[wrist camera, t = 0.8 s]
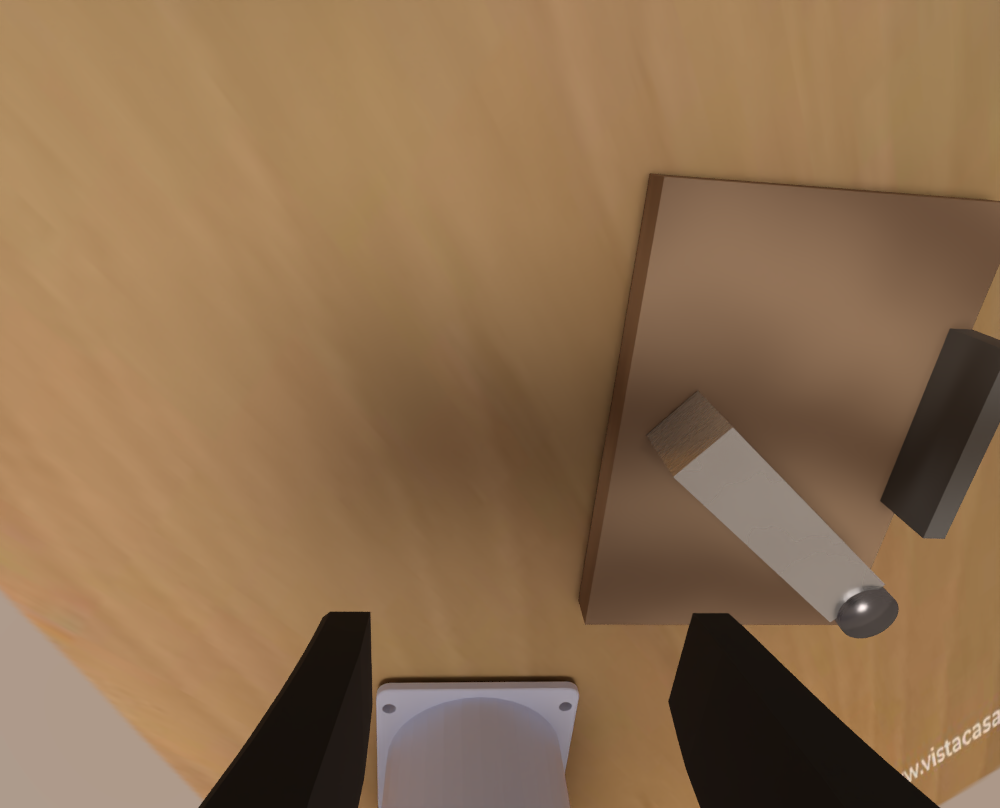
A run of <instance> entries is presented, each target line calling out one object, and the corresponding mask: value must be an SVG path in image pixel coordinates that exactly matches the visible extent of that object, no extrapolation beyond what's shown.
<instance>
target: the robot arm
mask: <svg viewBox="0 0 1000 808" xmlns="http://www.w3.org/2000/svg"><path fill="white" fill-rule="evenodd" d="M578 699H579V693H578V688H577V686H576V685H575V684H574V683H572V682H567V681H566V682H438V683H386V684H383V685H381V686H380V687H379V688H378V690H377V696H376V720H377V773H378V808H570V802H569V796H568V791H567V785H566V779H565V770H566V765H567V759H568V754H569V748H570V743H571V737H572V732H573V727H574V721H575V716H576V710H577V705H578ZM668 702H669V706H670V710H671V714H672V718H673V722H674V726H675V730H676V734H677V738H678V742H679V745H680V749H681V753H682V756H683V760H684V763H685V767H686V770H687V773H688V776H689V778H690V781H691V784H692V787H693V789H694V792H695V794H696V797H697V800H698V802H699V805H700V808H940V807H938V806H937V805H936V804H935V803H934V802H933V801H931V800H930V799H929V798H928V797H927V796H926V795H924V794H923V793H922V792H921V791H920V790H919V789H917V788H916V787H915V786H914V785H913V784H912V783H910V782H909V781H908V780H907V779H906V778H905V777H904V776H902V775H901V774H900V773H899V772H898V771H897V770H895V769H894V768H893V767H892V766H891V765H890V764H888V763H887V762H886V761H885V760H884V759H883V758H882V757H881V756H879V755H878V754H877V753H876V752H875V751H874V750H873V749H872V748H871V747H869V746H868V745H867V744H866V743H865V742H864V741H863V740H862V739H861V738H859V737H858V736H857V735H856V734H855V733H854V732H853V731H852V730H851V729H850V728H849V727H848V726H846V725H845V724H844V723H843V722H842V721H841V720H840V719H839V718H838V717H837V716H836V715H835V714H834V713H833V712H831V711H830V710H829V709H828V708H827V707H826V706H825V705H824V704H823V703H822V702H821V701H820V700H819V699H818V698H817V697H816V696H815V695H813V694H812V693H811V692H810V691H809V690H808V689H807V688H806V687H805V686H804V685H803V684H802V683H801V682H800V681H799V680H798V679H797V678H796V677H795V676H794V675H793V674H792V673H791V672H790V671H789V670H788V669H786V668H785V667H784V666H783V665H782V664H781V663H780V662H779V661H778V660H777V659H776V658H775V657H774V656H773V655H772V654H771V653H770V652H769V651H768V650H767V649H766V648H765V647H764V646H763V645H762V644H761V643H760V642H759V641H758V640H757V639H756V638H755V637H754V636H753V635H752V634H750V633H749V632H748V631H747V630H746V629H745V628H744V627H743V626H742V625H741V624H740V623H739V622H738V621H737V620H736V619H735V618H734V617H732V616H731V615H730V614H729V613H693V614H692V618H691V621H690V625H689V628H688V632H687V636H686V639H685V643H684V647H683V650H682V654H681V658H680V661H679V665H678V668H677V672H676V676H675V679H674V683H673V687H672V690H671V694H670V698H669V701H668ZM389 704H391V705H389ZM371 713H372V664H371V620H370V612H329V613H328V614H327V615H325V616H324V617H323V618H322V620H321V622H320V624H319V626H318V628H317V630H316V632H315V634H314V635H313V637H312V639H311V641H310V643H309V644H308V646H307V648H306V650H305V652H304V653H303V655H302V657H301V658H300V660H299V662H298V663H297V665H296V667H295V668H294V670H293V672H292V673H291V675H290V676H289V678H288V680H287V681H286V683H285V685H284V686H283V688H282V689H281V691H280V693H279V694H278V696H277V697H276V699H275V700H274V702H273V703H272V705H271V706H270V708H269V709H268V711H267V712H266V714H265V715H264V717H263V718H262V720H261V721H260V723H259V724H258V726H257V727H256V729H255V730H254V732H253V733H252V735H251V736H250V738H249V739H248V740H247V742H246V743H245V745H244V746H243V748H242V749H241V750H240V752H239V753H238V755H237V756H236V757H235V759H234V760H233V762H232V763H231V764H230V766H229V767H228V768H227V770H226V771H225V772H224V774H223V775H222V776H221V778H220V779H219V780H218V782H217V783H216V785H215V786H214V787H213V789H212V790H211V791H210V793H209V794H208V795H207V797H206V798H205V799H204V801H203V802H202V804H201V805H200V806H199V808H358V805H359V800H360V795H361V790H362V786H363V781H364V775H365V766H366V758H367V749H368V741H369V731H370V722H371Z"/></svg>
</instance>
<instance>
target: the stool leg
mask: <svg viewBox="0 0 1000 808" xmlns="http://www.w3.org/2000/svg"><path fill="white" fill-rule="evenodd" d="M647 437H648V438H649V440H650V441H651V443H652V445H653V446H654V448H655V449H656V451H657V452H658V454H659V456H660V457H661V459H662V460H663V462H664V463H665V465H666V467H667V468H668V470H669V471H670V473H671V474H672V476H673V477H674V478H675V479H676V480H677V481H678V482H679V483H680V484H681V485H682V486H683V487H685V488H686V489H687V490H688V491H689V492H690V493H691V494H692V495H693V496H694V497H695V498H696V499H697V500H699V501H700V502H701V503H702V504H703V505H704V506H705V507H706V508H707V509H708V510H709V511H710V512H711V513H713V514H714V515H715V516H716V517H717V518H718V519H719V520H720V521H721V522H722V523H723V524H724V525H726V526H727V527H728V528H729V529H730V530H731V531H732V532H733V533H734V534H735V535H736V536H737V537H738V538H740V539H741V540H742V541H743V542H744V543H745V544H746V545H747V546H748V547H749V548H750V549H751V550H752V551H754V552H755V553H756V554H757V555H758V556H759V557H760V558H761V559H762V560H763V561H764V562H765V563H766V564H768V565H769V566H770V567H771V568H772V569H773V570H774V571H775V572H776V573H777V574H778V575H779V576H780V577H782V578H783V579H784V580H785V581H786V582H787V583H788V584H789V585H790V586H791V587H792V588H793V589H794V590H796V591H797V592H798V593H799V594H800V595H801V596H802V597H803V598H804V599H805V600H806V601H807V602H808V603H810V604H811V605H812V606H813V607H814V608H815V609H816V610H817V611H818V612H819V613H820V614H821V615H823V616H824V617H825V618H826V619H827V620H828V621H829V622H832V621H833V620H835V622H836V623H837V624H838V625H839V627H840V628H841V629H842V631H843V632H844V633H845V634H846V635H848V636H850V637H853V638H867V637H871V636H874V635H877V634H879V633H881V632H883V631H884V630H885V629H887V628H888V627H889V626H890V625H891V624H892V623H893V622H894V620H895V619H896V617H897V614H898V604H897V602H896V600H895V599H894V598H893V597H892V596H891V595H890V594H889V593H888V592H887V591H886V590H885V589H884V588H883V586H884V585H885V584H884V583H883V582H882V581H881V580H880V579H879V578H878V577H877V576H876V575H875V574H874V572H873V571H872V570H871V569H870V568H869V567H868V566H867V565H866V564H865V563H864V562H863V561H862V560H861V559H860V558H859V557H858V556H857V555H856V554H855V553H854V552H853V551H852V549H851V548H850V547H849V546H848V545H847V544H846V543H845V542H844V541H843V540H842V539H841V538H840V537H839V536H838V535H837V534H836V533H835V532H834V531H833V530H832V529H831V528H830V527H829V526H828V525H827V524H826V522H825V521H824V520H823V519H822V518H821V517H820V516H819V515H818V514H817V513H816V512H815V511H814V510H813V509H812V508H811V507H810V506H809V505H808V504H807V503H806V502H805V501H804V500H803V499H802V498H801V497H800V496H799V495H798V494H797V493H796V491H795V490H794V489H793V488H792V487H791V486H790V485H789V484H788V483H787V482H786V481H785V480H784V479H783V478H782V477H781V476H780V475H779V474H778V473H777V472H776V471H775V470H774V469H773V468H772V467H771V466H770V465H769V464H768V463H767V462H766V461H765V459H764V458H763V457H762V456H761V455H760V454H759V453H758V452H757V451H756V450H755V449H754V448H753V447H752V446H751V445H750V444H749V443H748V442H747V441H746V440H745V439H744V438H743V437H742V436H741V435H740V434H739V433H738V432H737V431H736V430H735V429H734V427H733V426H732V425H731V424H730V423H729V422H728V421H727V420H726V419H725V418H724V417H723V416H722V415H721V414H720V413H719V412H718V411H717V410H716V409H715V408H714V407H713V406H712V405H711V404H710V403H709V402H708V401H707V400H706V399H705V398H704V396H703V395H702V394H701V393H700V392H699V391H697V392H696V393H694V394H693V395H692V396H691V397H690V398H689V399H688V400H686V401H685V402H684V403H683V404H682V405H681V406H679V407H678V408H677V409H676V410H675V411H674V412H673V413H671V414H670V415H669V416H668V417H667V418H666V419H664V420H663V421H662V422H661V423H660V424H659V425H658V426H656V427H655V428H654V429H653V430H652V431H651V432H649V433H648V434H647Z"/></svg>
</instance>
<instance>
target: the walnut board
mask: <svg viewBox="0 0 1000 808" xmlns="http://www.w3.org/2000/svg"><path fill="white" fill-rule="evenodd" d="M999 264H1000V201H993V200H983V199H970V198H957V197H944V196H931V195H918V194H905V193H892V192H879V191H866V190H853V189H840V188H827V187H814V186H802V185H789V184H776V183H763V182H750V181H737V180H724V179H711V178H698V177H685V176H672V175H659V174H650V177H649V183H648V189H647V195H646V201H645V207H644V213H643V219H642V225H641V231H640V237H639V243H638V249H637V255H636V261H635V267H634V272H633V278H632V284H631V290H630V296H629V302H628V308H627V314H626V320H625V326H624V332H623V338H622V344H621V350H620V356H619V362H618V368H617V374H616V380H615V386H614V392H613V398H612V404H611V410H610V416H609V422H608V428H607V434H606V440H605V446H604V452H603V457H602V463H601V469H600V475H599V481H598V487H597V493H596V499H595V505H594V511H593V517H592V523H591V529H590V535H589V541H588V547H587V553H586V559H585V565H584V571H583V577H582V583H581V589H580V595H579V604H580V607H581V611H582V615H583V619H584V622H585V624H649V625H690V621H691V618H692V614H693V613H729V614H730V615H731V616H732V617H734V618H735V619H736V620H737V621H738V622H739V623H740V624H741V625H838V624H837V623H836V622H835V620H833V621H832V622H829V621H828V620H827V619H826V618H825V617H824V616H823V615H821V614H820V613H819V612H818V611H817V610H816V609H815V608H814V607H813V606H812V605H811V604H810V603H808V602H807V601H806V600H805V599H804V598H803V597H802V596H801V595H800V594H799V593H798V592H797V591H796V590H794V589H793V588H792V587H791V586H790V585H789V584H788V583H787V582H786V581H785V580H784V579H783V578H782V577H780V576H779V575H778V574H777V573H776V572H775V571H774V570H773V569H772V568H771V567H770V566H769V565H768V564H766V563H765V562H764V561H763V560H762V559H761V558H760V557H759V556H758V555H757V554H756V553H755V552H754V551H752V550H751V549H750V548H749V547H748V546H747V545H746V544H745V543H744V542H743V541H742V540H741V539H740V538H738V537H737V536H736V535H735V534H734V533H733V532H732V531H731V530H730V529H729V528H728V527H727V526H726V525H724V524H723V523H722V522H721V521H720V520H719V519H718V518H717V517H716V516H715V515H714V514H713V513H711V512H710V511H709V510H708V509H707V508H706V507H705V506H704V505H703V504H702V503H701V502H700V501H699V500H697V499H696V498H695V497H694V496H693V495H692V494H691V493H690V492H689V491H688V490H687V489H686V488H685V487H683V486H682V485H681V484H680V483H679V482H678V481H677V480H676V479H675V478H674V477H673V476H672V474H671V473H670V471H669V470H668V468H667V467H666V465H665V463H664V462H663V460H662V459H661V457H660V456H659V454H658V452H657V451H656V449H655V448H654V446H653V445H652V443H651V441H650V440H649V438H648V437H647V434H648V433H649V432H651V431H652V430H653V429H654V428H655V427H656V426H658V425H659V424H660V423H661V422H662V421H663V420H664V419H666V418H667V417H668V416H669V415H670V414H671V413H673V412H674V411H675V410H676V409H677V408H678V407H679V406H681V405H682V404H683V403H684V402H685V401H686V400H688V399H689V398H690V397H691V396H692V395H693V394H694V393H696V392H697V391H699V392H700V393H701V394H702V395H703V396H704V398H705V399H706V400H707V401H708V402H709V403H710V404H711V405H712V406H713V407H714V408H715V409H716V410H717V411H718V412H719V413H720V414H721V415H722V416H723V417H724V418H725V419H726V420H727V421H728V422H729V423H730V424H731V425H732V426H733V427H734V429H735V430H736V431H737V432H738V433H739V434H740V435H741V436H742V437H743V438H744V439H745V440H746V441H747V442H748V443H749V444H750V445H751V446H752V447H753V448H754V449H755V450H756V451H757V452H758V453H759V454H760V455H761V456H762V457H763V458H764V459H765V461H766V462H767V463H768V464H769V465H770V466H771V467H772V468H773V469H774V470H775V471H776V472H777V473H778V474H779V475H780V476H781V477H782V478H783V479H784V480H785V481H786V482H787V483H788V484H789V485H790V486H791V487H792V488H793V489H794V490H795V491H796V493H797V494H798V495H799V496H800V497H801V498H802V499H803V500H804V501H805V502H806V503H807V504H808V505H809V506H810V507H811V508H812V509H813V510H814V511H815V512H816V513H817V514H818V515H819V516H820V517H821V518H822V519H823V520H824V521H825V522H826V524H827V525H828V526H829V527H830V528H831V529H832V530H833V531H834V532H835V533H836V534H837V535H838V536H839V537H840V538H841V539H842V540H843V541H844V542H845V543H846V544H847V545H848V546H849V547H850V548H851V549H852V551H853V552H854V553H855V554H856V555H857V556H858V557H859V558H860V559H861V560H862V561H863V562H864V563H865V564H866V565H867V566H868V567H869V568H870V569H871V567H872V565H873V563H874V560H875V558H876V556H877V553H878V551H879V548H880V546H881V544H882V541H883V539H884V537H885V534H886V532H887V530H888V527H889V525H890V522H891V520H892V518H893V515H894V513H895V514H896V515H897V516H898V517H899V518H900V519H902V520H903V521H904V522H905V523H906V524H907V525H908V526H910V527H911V528H912V529H913V530H914V531H915V532H917V533H918V534H919V535H920V536H921V537H922V538H937V539H945V537H946V535H947V532H948V530H949V528H950V526H951V524H952V522H953V520H954V518H955V516H956V513H957V511H958V509H959V507H960V505H961V503H962V501H963V499H964V497H965V495H966V492H967V490H968V488H969V486H970V484H971V482H972V480H973V478H974V476H975V473H976V471H977V469H978V467H979V465H980V463H981V461H982V459H983V457H984V454H985V452H986V450H987V448H988V446H989V444H990V442H991V440H992V438H993V436H994V433H995V431H996V429H997V427H998V425H999V423H1000V340H998V339H996V338H993V337H990V336H988V335H985V334H982V333H980V332H977V331H974V330H972V328H973V326H974V323H975V321H976V319H977V316H978V314H979V312H980V309H981V307H982V304H983V302H984V300H985V297H986V295H987V293H988V290H989V288H990V285H991V283H992V281H993V278H994V276H995V274H996V271H997V269H998V267H999Z"/></svg>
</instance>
